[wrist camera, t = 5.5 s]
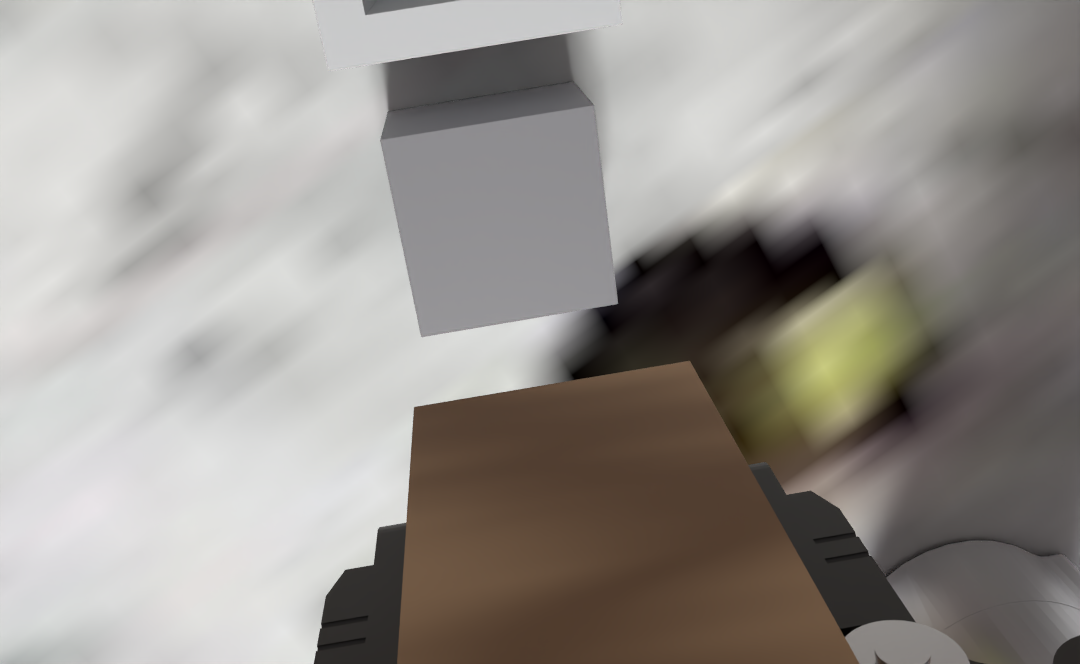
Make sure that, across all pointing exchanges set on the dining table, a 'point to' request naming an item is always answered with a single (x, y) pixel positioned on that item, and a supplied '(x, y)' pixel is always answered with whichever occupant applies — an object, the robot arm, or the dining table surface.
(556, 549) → the block
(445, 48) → the white microwave oven
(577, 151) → the gray square block
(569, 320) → the dining table surface
